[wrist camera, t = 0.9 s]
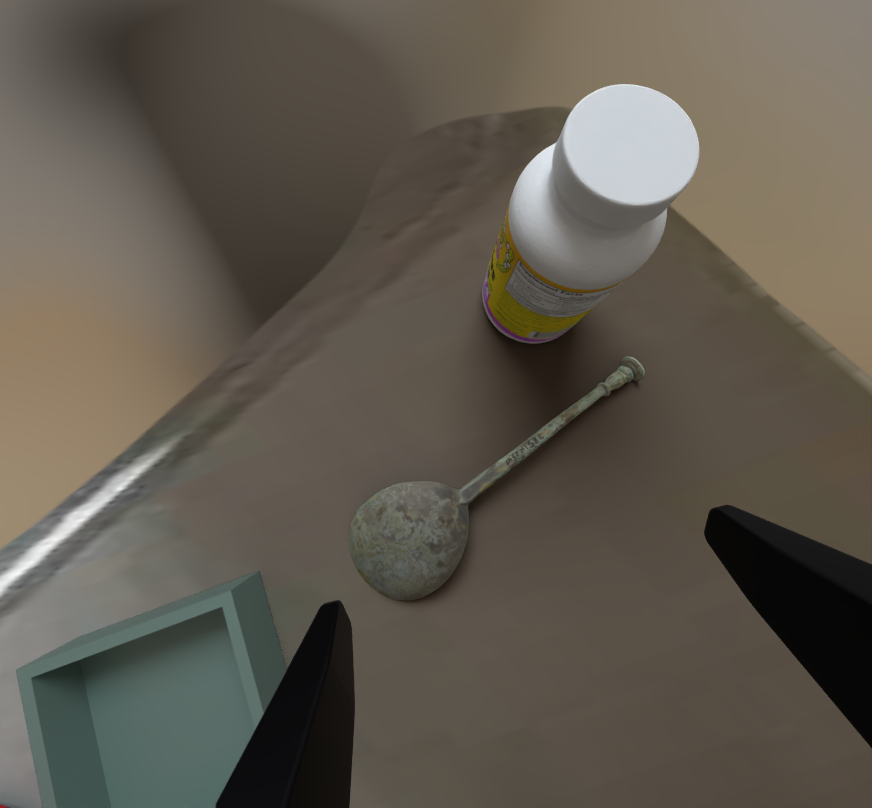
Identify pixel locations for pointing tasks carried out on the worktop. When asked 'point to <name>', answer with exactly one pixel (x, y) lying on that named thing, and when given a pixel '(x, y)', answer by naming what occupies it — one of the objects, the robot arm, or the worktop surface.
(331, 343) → the worktop surface
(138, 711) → the tray
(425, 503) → the soupspoon
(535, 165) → the supplement bottle
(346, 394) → the worktop surface
